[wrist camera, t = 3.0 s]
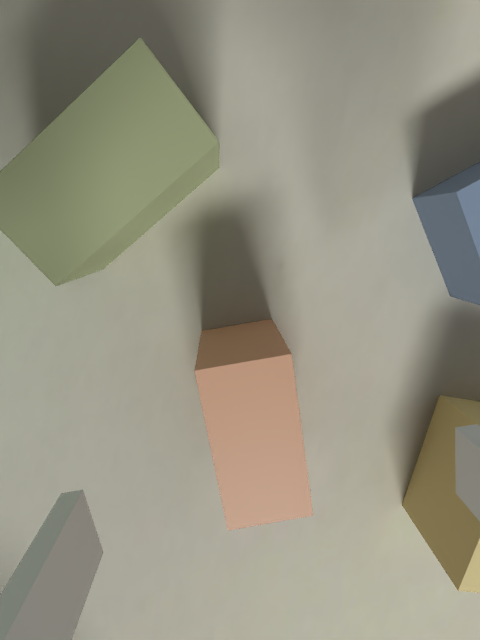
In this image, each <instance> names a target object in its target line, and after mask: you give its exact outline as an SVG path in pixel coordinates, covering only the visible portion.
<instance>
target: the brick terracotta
mask: <svg viewBox="0 0 480 640" xmlns="http://www.w3.org/2000/svg"><path fill="white" fill-rule="evenodd" d="M195 375H196V379H197V384H198V389H199V394H200V399H201V404H202V408H203V413H204V418H205V423H206V428H207V432H208V437H209V442H210V447H211V452H212V456H213V461H214V466H215V471H216V476H217V480H218V485H219V490H220V495H221V500H222V505H223V509H224V514H225V519H226V524H227V529H228V530H234V529H240V528H245V527H251V526H256V525H262V524H268V523H273V522H279V521H285V520H290V519H296V518H302V517H307V516H313V509H312V502H311V494H310V487H309V479H308V472H307V465H306V457H305V450H304V442H303V435H302V427H301V420H300V413H299V405H298V398H297V390H296V383H295V375H294V368H293V361H292V354H291V352H290V350H289V348H288V347H287V345H286V343H285V341H284V340H283V338H282V336H281V334H280V332H279V331H278V329H277V327H276V325H275V324H274V322H273V320H272V319H268V320H262V321H256V322H250V323H244V324H239V325H233V326H227V327H221V328H215V329H209V330H204V331H202V332H201V338H200V343H199V349H198V355H197V360H196V366H195Z"/></svg>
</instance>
